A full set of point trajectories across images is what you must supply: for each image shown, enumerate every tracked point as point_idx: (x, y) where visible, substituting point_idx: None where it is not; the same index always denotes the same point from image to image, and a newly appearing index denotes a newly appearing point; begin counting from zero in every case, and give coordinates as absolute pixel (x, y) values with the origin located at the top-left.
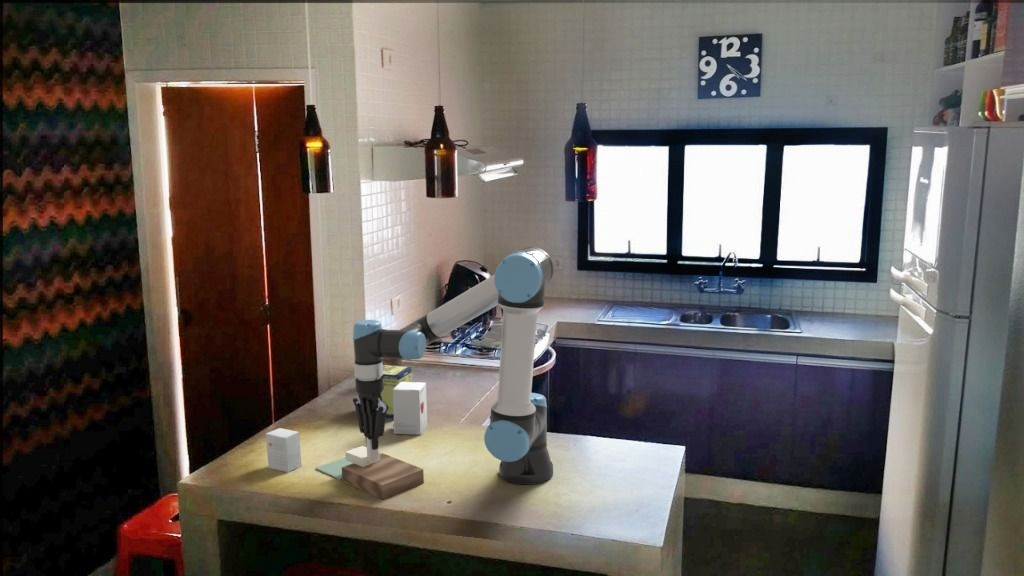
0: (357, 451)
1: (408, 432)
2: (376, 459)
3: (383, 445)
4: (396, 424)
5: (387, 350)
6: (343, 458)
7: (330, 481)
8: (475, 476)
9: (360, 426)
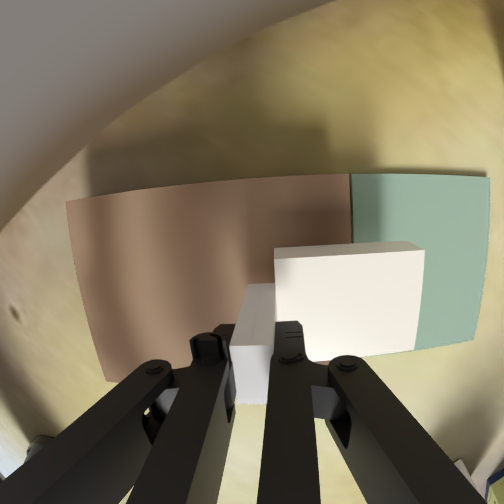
0: (379, 295)
1: None
2: None
3: (445, 421)
4: None
5: None
6: (479, 292)
7: (367, 141)
8: None
9: (363, 388)
